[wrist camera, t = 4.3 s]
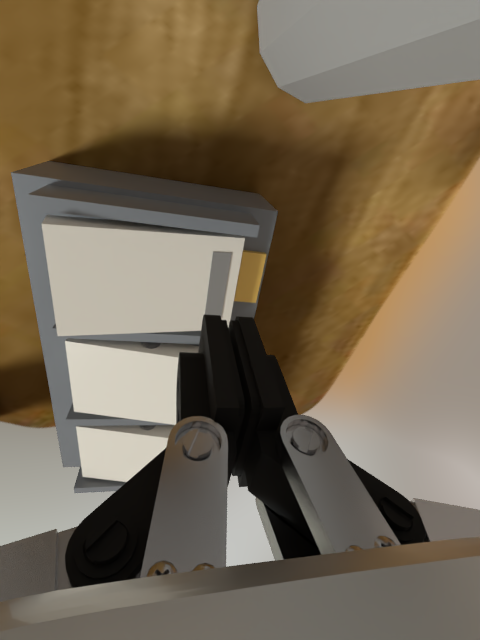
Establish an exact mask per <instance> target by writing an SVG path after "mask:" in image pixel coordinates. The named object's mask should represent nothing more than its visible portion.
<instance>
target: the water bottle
mask: <svg viewBox="0 0 480 640" xmlns="http://www.w3.org/2000/svg"><path fill="white" fill-rule="evenodd" d="M257 13H258V29H259V45H260V54H261V56H262V58H263V60H264V62H265V64H266V65H267V67H268V69H269V71H270V73H271V75H272V77H273V79H274V81H275V82H276V84H277V86H278V88H280V89H282V90H284V91H285V92H287V93H289V94H290V95H292V96H294V97H296V98H297V99H299V100H301V101H303V102H304V103H310V102H318V101H325V100H332V99H340V98H347V97H354V96H361V95H369V94H376V93H383V92H391V91H398V90H405V89H413V88H420V87H427V86H435V85H442V84H449V83H457V82H464V81H471V80H479V79H480V0H259V2H258V5H257Z"/></svg>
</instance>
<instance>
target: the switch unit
mask: <svg viewBox="0 0 480 640" xmlns="http://www.w3.org/2000/svg"><path fill="white" fill-rule="evenodd" d="M11 174H12V180H13V186H14V191H15V197H16V203H17V208H18V214H19V220H20V225H21V231H22V237H23V242H24V248H25V254H26V259H27V265H28V271H29V276H30V282H31V288H32V293H33V299H34V305H35V310H36V316H37V322H38V327H39V333H40V339H41V344H42V350H43V356H44V361H45V367H46V373H47V378H48V384H49V390H50V395H51V401H52V407H53V412H54V418H55V424H56V429H57V435H58V440H59V446H60V451H61V457H62V463H63V467H80V469H79V473H78V476H77V480H76V483H75V487H74V492H75V493H83V492H105V491H117V490H118V489H119V488H121V487H122V486H123V485H124V484H125V483H126V482H122V481H114V480H105V479H97V478H88V477H83V476H82V468H81V461H80V453H79V445H78V438H77V430H76V426H113V425H172V424H165V423H157V422H149V421H142V420H134V419H127V418H119V417H111V416H104V415H96V414H88V413H81V412H74V407H73V399H72V392H71V384H70V376H69V369H68V361H67V353H66V346H65V340H66V339H67V338H72V339H93V340H114V341H135V342H156V343H177V344H188V345H195V346H199V343H200V335H201V331H180V332H154V333H129V334H103V335H77V336H57V329H56V322H55V315H54V308H53V301H52V294H51V287H50V280H49V273H48V266H47V259H46V252H45V245H44V238H43V231H42V222H43V220H44V219H45V217H46V215H57V216H70V217H82V218H95V219H107V220H120V221H129V222H137V223H145V224H153V225H161V226H169V227H177V228H185V229H192V230H200V231H208V232H216V233H224V234H232V235H240V236H243V237H244V238H245V241H244V247H243V252H242V258H241V264H240V269H239V275H238V280H237V286H236V291H235V297H234V302H233V308H232V313H231V319H230V320H235V319H236V317H237V316H239V317H253V319H254V317H255V312H256V308H257V303H258V299H259V294H260V290H261V285H262V281H263V276H264V272H265V267H266V263H267V258H268V254H269V249H270V245H271V241H272V236H273V232H274V227H275V223H276V218H277V214H278V211H277V210H276V209H275V208H274V207H273V206H272V205H271V204H270V203H269V202H267V201H266V200H265V199H264V198H263V197H262V196H261V195H260V194H257V193H251V192H244V191H238V190H232V189H225V188H219V187H212V186H206V185H200V184H193V183H187V182H180V181H174V180H168V179H161V178H155V177H149V176H142V175H136V174H129V173H123V172H117V171H110V170H104V169H97V168H91V167H85V166H78V165H72V164H66V163H59V162H53V161H47V162H44V163H40V164H37V165H34V166H31V167H27V168H24V169H21V170H18V171H14V172H11Z"/></svg>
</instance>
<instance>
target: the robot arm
mask: <svg viewBox="0 0 480 640" xmlns="http://www.w3.org/2000/svg"><path fill="white" fill-rule="evenodd" d="M231 473H232V475H233V476H238V482H239V487H245V486H248V491H249V492H251V493H252V494H253V495H254V496H255V497H256V505H257V509H258V512H259V515H260V518H261V520H262V523H263V526H264V529H265V532H266V535H267V538H268V540H269V544H270V547H271V550H272V553H273V556H274V559H275V561H269V562H261V563H252V564H245V565H237V566H229V567H226V528H227V487H228V484H229V480H230V476H231ZM0 640H480V510H477V509H471V508H465V507H460V506H454V505H449V504H444V503H438V502H432V501H427V500H421V499H415V498H413V500H412V501H409V500H407V499H406V498H405V497H404V496H402V495H401V494H400V493H398V492H397V491H395V490H394V489H392V488H391V487H389V486H388V485H386V484H385V483H383V482H382V481H380V480H378V479H377V478H375V477H374V476H372V475H371V474H369V473H368V472H366V471H365V470H363V469H361V468H360V467H359V466H357V465H355V464H354V463H352V462H351V461H349V460H348V459H347V458H346V457H345V455H344V454H343V452H342V450H341V449H340V447H339V446H338V444H337V443H336V441H335V439H334V438H333V436H332V435H331V433H330V432H329V430H328V429H327V428H326V427H325V426H324V425H323V424H322V423H321V422H319V421H318V420H316V419H314V418H312V417H309V416H305V415H298V413H297V411H296V408H295V405H294V403H293V400H292V398H291V395H290V393H289V390H288V387H287V385H286V382H285V380H284V377H283V375H282V372H281V369H280V367H279V364H278V362H277V359H276V357H275V356H273V355H266V352H265V349H264V346H263V344H262V341H261V338H260V335H259V332H258V330H257V327H256V324H255V321H254V319H253V317H239V316H237V317H236V319H235V320H230V322H229V327H228V325H227V321H226V320H221V316H220V315H206V314H204V315H203V320H202V328H201V335H200V343H199V350H198V353H187V352H180V353H179V359H178V370H177V387H176V425H175V426H174V427H173V428H172V429H171V432H170V434H169V437H168V442H167V447H166V448H165V449H164V450H163V451H162V452H161V453H159V454H158V455H157V456H156V457H155V458H154V459H153V460H151V461H150V462H149V463H148V464H147V465H146V466H145V467H143V468H142V469H141V470H140V471H139V472H138V473H137V474H135V475H134V476H133V477H132V478H131V479H130V480H129V481H127V482H126V483H125V484H124V485H123V486H122V487H121V488H119V489H118V490H117V491H116V492H115V493H114V494H112V495H111V496H110V497H109V498H108V499H107V500H106V501H104V502H103V503H102V504H101V505H100V506H99V507H98V508H96V509H95V510H94V511H93V512H92V513H91V514H90V515H88V516H87V517H86V518H85V519H84V520H83V521H82V522H81V524H79V526H78V527H74V528H71V529H68V530H65V531H62V532H59V533H57V529H55V530H51V531H48V532H45V533H42V534H38V535H36V536H32V537H29V538H26V539H22V540H19V541H16V542H12V543H9V544H6V545H3V546H0Z"/></svg>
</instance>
